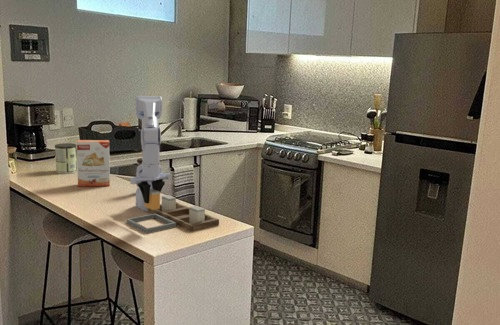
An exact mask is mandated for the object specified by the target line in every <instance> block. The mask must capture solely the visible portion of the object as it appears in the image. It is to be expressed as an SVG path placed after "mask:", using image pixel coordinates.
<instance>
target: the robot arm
mask: <svg viewBox="0 0 500 325" xmlns="http://www.w3.org/2000/svg"><path fill="white" fill-rule="evenodd" d="M162 111H163V97H162V96H161V95H159V96H157V95H136V96H135V115H136V118H137V119H138V120H140V121H141V129H140V145H141V150H142V152H141V156H142V157H141V158H142V164H139V165H138V166H137V167H136V173H135V175H136V176H133V177H130V178H129V179H130V182H129V183H130V184H131V185H135V186H136V187H137V189H136V190H135V207H136V208H138V209H140V210H141V211H145V212H148V208H147V207H145V203H149V192H150V189H155V190H157V191H160V193H161V192H162V190H163V188H164V186H165V184H166V183H165V181H164V180H171V176H172V175H171V173H169V172H163V169H162V166H161V165H160V144H161V142H162V131H161V127H160V126H159V125H160V124H159V119H161V116H162Z"/></svg>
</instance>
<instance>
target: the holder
mask: <svg viewBox="0 0 500 325" xmlns="http://www.w3.org/2000/svg"><path fill="white" fill-rule="evenodd" d="M189 207H190V206H186V205H184V204H181V203H179V202H177V201H176V209H173V210H168V211H163V212H162V203H160V209H155V210H151V209H149V208H148V211H147V213H149V214H155V213H156V214H158V215H160V216H162V217H164V218H167V219H169V220H171V221H173V222H176V226H177V227H180V228H182V229H184V230H187V231H189V232H195V231H199V230H204V229H208V228H213V227H216V226H219V225H220V218H216V217H215V216H211V215H209V214H207V213H205V221H203V222H198V223H194V224H190V223H189Z"/></svg>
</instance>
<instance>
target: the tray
mask: <svg viewBox="0 0 500 325" xmlns="http://www.w3.org/2000/svg"><path fill="white" fill-rule="evenodd" d="M151 219H155V220H158V221H160V222H162V223H164V224H160V225H156V226H151V227H146V226H145V225H142V224H140V223H138V222H142V221H147V220H151ZM125 220H126V224H128V225H130V226H132V227H133V228H135V229H138V230H139V231H141V232H143V233H145V234H151V233H154V232H159V231H163V230H169V229H171V228H176V227H177V225H176V222H173V221H171V220H169V219H167V218H164V217H162V216H160V215H158V214H156V213H155V214H151V213H149V214H144V215H140V216H139V215H138V216H135V217H129V218H126V219H125Z"/></svg>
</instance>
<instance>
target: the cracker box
mask: <svg viewBox="0 0 500 325" xmlns="http://www.w3.org/2000/svg"><path fill="white" fill-rule="evenodd" d="M110 155H111V154H110V140H109V139H103V140H102V139H101V140H99V139H98V140H97V139H96V140H94V139H78V140H77V141H76V158H77V187H78V188H79V187H110V186H111V185H110V184H111V175H110V174H111V173H110V172H111V170H110V168H111V167H110V166H111V163H110V160H111V158H110V157H111V156H110Z"/></svg>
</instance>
